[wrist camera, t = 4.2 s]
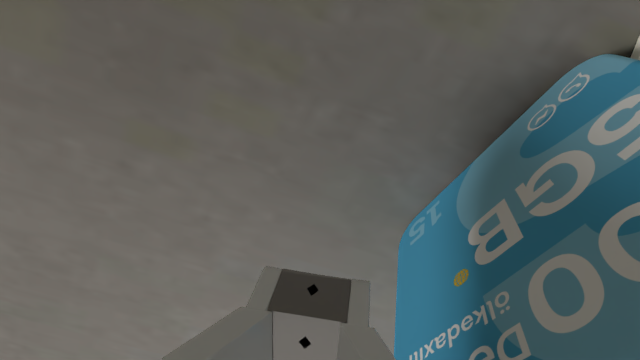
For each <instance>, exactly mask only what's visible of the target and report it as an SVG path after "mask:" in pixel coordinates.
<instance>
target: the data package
mask: <svg viewBox="0 0 640 360" xmlns="http://www.w3.org/2000/svg"><path fill="white" fill-rule="evenodd" d="M394 358H395V359H396V360H640V60H637V59H632V58H628V57H624V56H619V55H615V54H603V55H599V56H596V57H593V58H591V59H589V60H587V61H585V62H583V63H581V64H579V65H578V66H576V67H575V68H573V69H572V70H570V71H569V72H568V73H566V74H565V75H564V76H563V77H562V78H560V79H559V80H558V81H557V82H556V83H555V84H554V85H553V86H552V87H551V88H550V89H549V90H548V91H547V92H546V93H545V94H543V95H542V96H541V97H540V98H539V99H538V100H537V101H536V102H535V103H534V104H533V105H532V106H531V107H530V108H529V109H528V110H527V111H526V112H525V113H524V114H523V115H522V116H520V117H519V118H518V119H517V120H516V121H515V122H514V123H513V124H512V125H511V126H510V127H509V128H508V129H507V130H506V131H505V132H504V133H503V134H502V135H501V136H500V137H499V138H498V139H496V140H495V141H494V142H493V143H492V144H491V145H490V146H489V147H488V148H487V149H486V150H485V151H484V152H483V153H482V154H481V155H480V156H479V157H478V158H477V159H476V160H475V161H473V162H472V163H471V164H470V165H469V166H468V167H467V168H466V169H465V170H464V171H463V172H462V173H461V174H460V175H459V176H458V177H457V178H456V179H455V180H454V181H453V182H452V183H451V184H449V185H448V186H447V187H446V188H445V189H444V190H443V191H442V192H441V193H440V194H439V195H438V196H437V197H436V198H435V199H434V200H433V201H432V202H431V203H430V204H429V205H428V206H426V207H425V208H424V209H423V210H422V211H421V212H420V213H419V214H418V215H417V216H416V217H415V218H414V219H413V221H412V222H411V223H410V224H409V226H408V227H407V229H406V231H405V232H404V234H403V236H402V238H401V241H400V244H399V254H398V276H397V299H396V321H395V344H394Z"/></svg>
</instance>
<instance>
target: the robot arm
mask: <svg viewBox="0 0 640 360" xmlns="http://www.w3.org/2000/svg"><path fill="white" fill-rule="evenodd" d="M369 306H370V282H369V281H364V280H356V279H352V281H351V279H346V278H339V277H332V276H325V275H317V274H311V273H306V272H300V271H294V270H288V269H280V268H274V267H268V266H266V267H265V268H264V269H263V271H262V273H261V275H260V278H259V280H258V282H257V284H256V286H255V289H254V291H253V293H252V295H251V297H250V300H249V302H248V304H247V306H246V308H245V307H240V308H238V309H237V310H235V311H234V312H232V313H231V314H229V315H227V316H226V317H224V318H223V319H221V320H220V321H218V322H217V323H215V324H214V325H212V326H211V327H209V328H207V329H206V330H204V331H203V332H201V333H200V334H198V335H197V336H195V337H194V338H192V339H191V340H189V341H188V342H186V343H184V344H183V345H181V346H180V347H178V348H177V349H175V350H174V351H172V352H171V353H169V354H168V355H166V356H165V357H163V358H162V360H396V359H395V358H394V356H393V355H392V353H391V352H390V350H389V349H388V347H387V346H386V345H385V343H384V342H383V340H382V339H381V337H380V336H379V334H378V333H377V331H376V330H375V329H374V328H370V327H369Z"/></svg>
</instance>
